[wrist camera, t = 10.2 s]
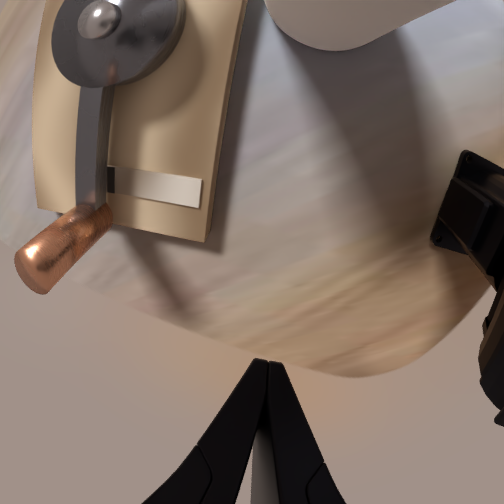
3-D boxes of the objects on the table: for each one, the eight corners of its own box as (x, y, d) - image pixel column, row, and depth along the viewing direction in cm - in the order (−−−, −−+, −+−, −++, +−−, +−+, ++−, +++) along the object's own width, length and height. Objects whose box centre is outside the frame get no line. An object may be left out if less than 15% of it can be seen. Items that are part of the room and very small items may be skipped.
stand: (254, -28, 11) (250, -39, 9) (210, 231, 19) (203, 245, 17) (62, -9, 11) (46, -13, 9) (49, 200, 19) (35, 209, 18)
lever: (88, -22, 9) (3, -44, 3) (200, -31, 10) (142, -92, 4) (62, 215, 17) (-6, 272, 11) (152, 239, 18) (94, 317, 12)
